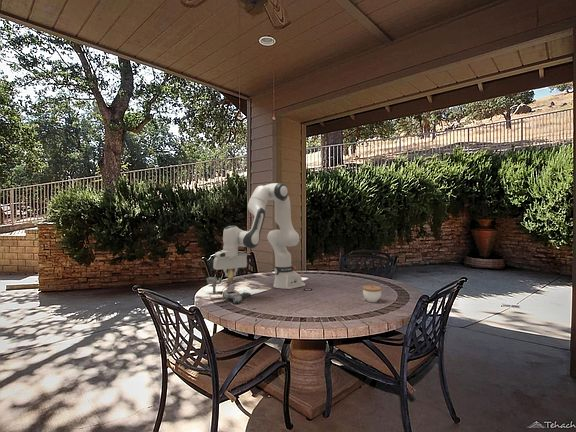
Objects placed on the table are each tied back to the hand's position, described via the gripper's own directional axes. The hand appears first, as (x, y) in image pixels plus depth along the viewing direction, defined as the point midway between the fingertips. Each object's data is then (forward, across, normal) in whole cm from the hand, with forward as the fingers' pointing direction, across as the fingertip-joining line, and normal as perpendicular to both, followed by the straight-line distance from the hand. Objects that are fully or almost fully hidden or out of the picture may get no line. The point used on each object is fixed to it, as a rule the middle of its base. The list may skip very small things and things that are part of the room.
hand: (230, 276), depth 201 cm
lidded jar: (+13, -70, +45) cm, 85 cm away
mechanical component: (+14, +4, -18) cm, 23 cm away
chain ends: (+14, -4, +4) cm, 15 cm away
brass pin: (+3, 0, 0) cm, 3 cm away
